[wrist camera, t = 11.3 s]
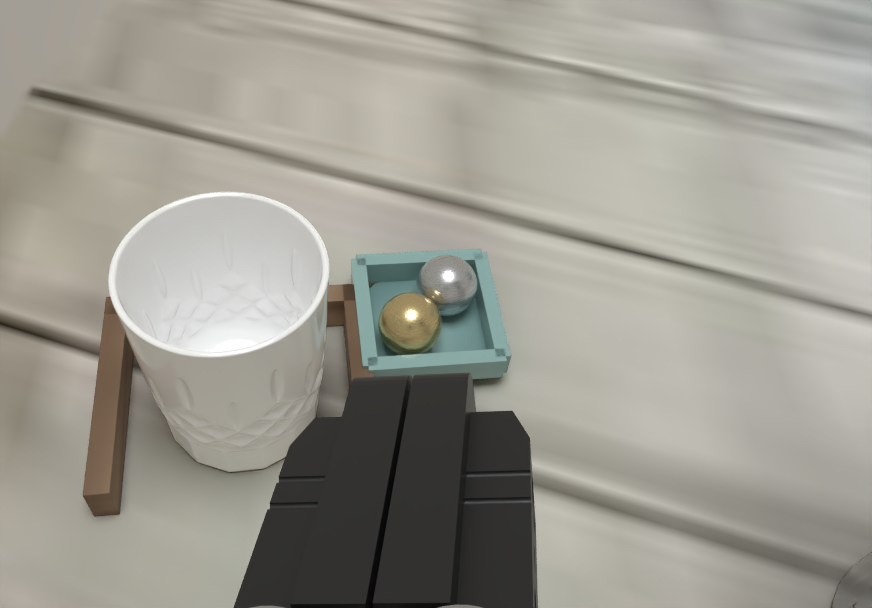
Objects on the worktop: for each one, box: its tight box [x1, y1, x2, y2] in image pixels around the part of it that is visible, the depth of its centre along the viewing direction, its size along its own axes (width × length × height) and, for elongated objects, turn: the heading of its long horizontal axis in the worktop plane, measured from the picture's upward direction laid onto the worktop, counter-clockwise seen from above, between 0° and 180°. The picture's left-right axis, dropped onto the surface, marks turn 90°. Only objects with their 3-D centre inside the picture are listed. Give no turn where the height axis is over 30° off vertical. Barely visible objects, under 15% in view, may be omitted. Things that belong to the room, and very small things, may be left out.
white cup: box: [108, 192, 329, 472], centre depth 35 cm, size 8×8×10 cm
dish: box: [351, 249, 511, 379], centre depth 41 cm, size 7×7×2 cm
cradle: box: [83, 284, 374, 516], centre depth 38 cm, size 12×10×2 cm
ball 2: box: [416, 255, 477, 316], centre depth 41 cm, size 3×3×3 cm
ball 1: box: [378, 292, 442, 355], centre depth 39 cm, size 3×3×3 cm
